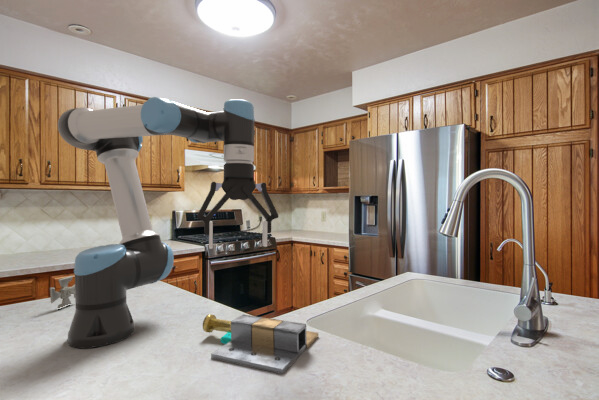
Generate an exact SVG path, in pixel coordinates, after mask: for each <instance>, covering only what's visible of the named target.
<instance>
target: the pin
mask: <svg viewBox="0 0 599 400" xmlns="http://www.w3.org/2000/svg"><path fill="white" fill-rule="evenodd" d="M231 321H232V320H226V319H221V318H217V317H216V315H215V314H210V313H209V314H207V315H206V316H205V317H204V319H203V321H202V330H203V332H205V333H209V334H210V333H213V331H217V332H223V333H231Z"/></svg>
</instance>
